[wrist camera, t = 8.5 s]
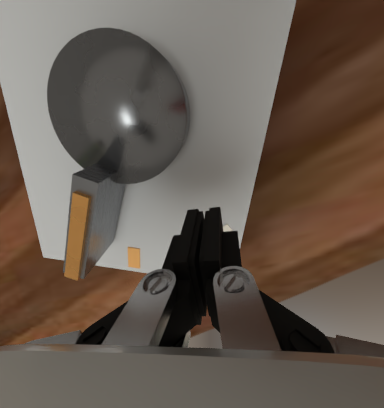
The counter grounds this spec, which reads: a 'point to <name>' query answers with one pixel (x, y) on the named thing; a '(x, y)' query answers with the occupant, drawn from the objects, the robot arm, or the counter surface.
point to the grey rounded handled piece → (112, 130)
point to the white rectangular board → (198, 100)
